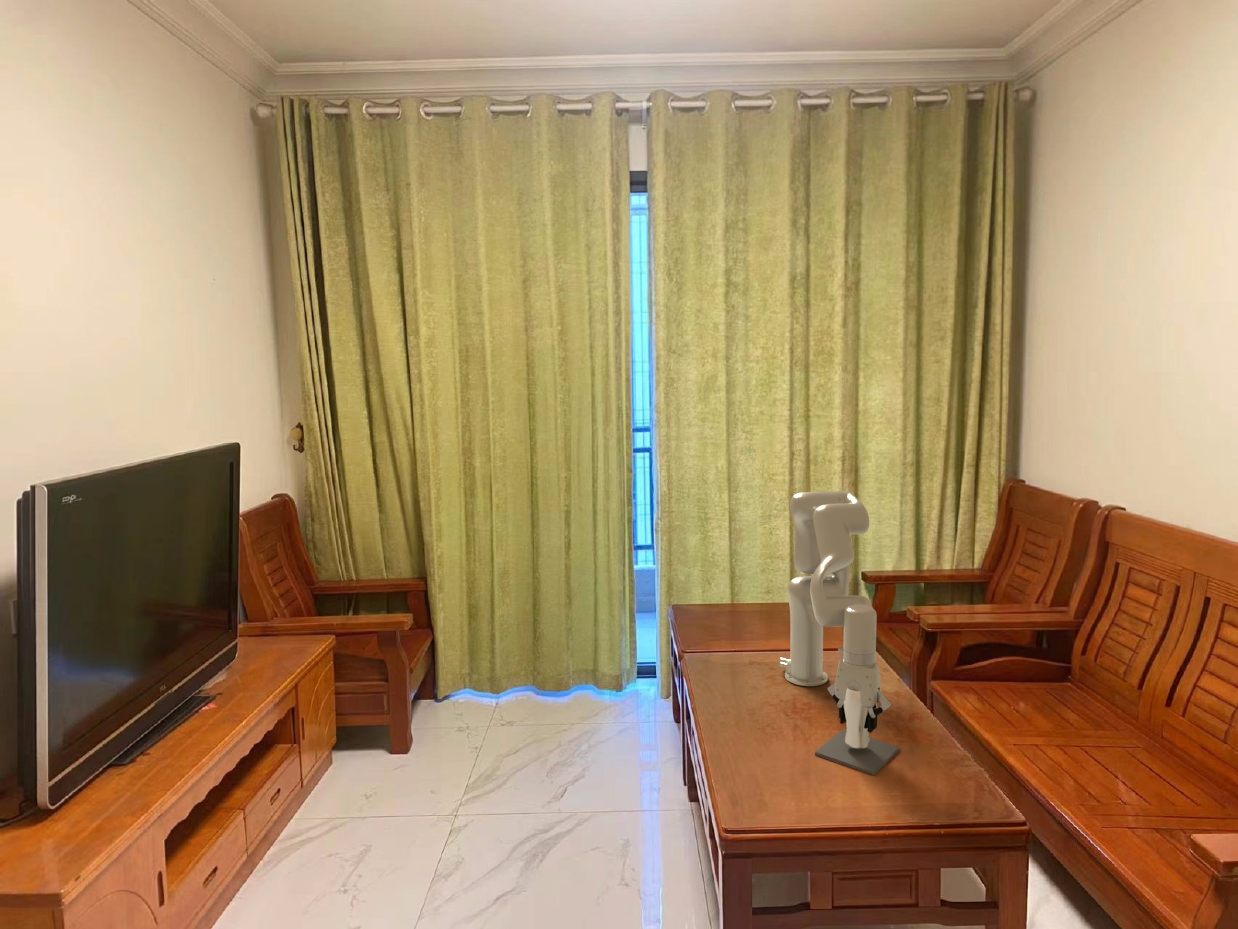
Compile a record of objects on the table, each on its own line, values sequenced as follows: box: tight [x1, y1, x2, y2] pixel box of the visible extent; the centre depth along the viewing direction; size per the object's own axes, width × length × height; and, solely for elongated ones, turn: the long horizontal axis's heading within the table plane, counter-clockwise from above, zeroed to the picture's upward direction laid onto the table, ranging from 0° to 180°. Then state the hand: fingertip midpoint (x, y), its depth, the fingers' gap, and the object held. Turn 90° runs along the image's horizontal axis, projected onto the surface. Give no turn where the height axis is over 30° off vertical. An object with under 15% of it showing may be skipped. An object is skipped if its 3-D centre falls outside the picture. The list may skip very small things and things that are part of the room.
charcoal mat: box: [814, 729, 900, 776], centre depth 191 cm, size 15×15×1 cm
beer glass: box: [843, 687, 870, 750], centre depth 190 cm, size 7×7×15 cm
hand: (857, 725), depth 190 cm, fingers closed on beer glass, 6 cm apart
